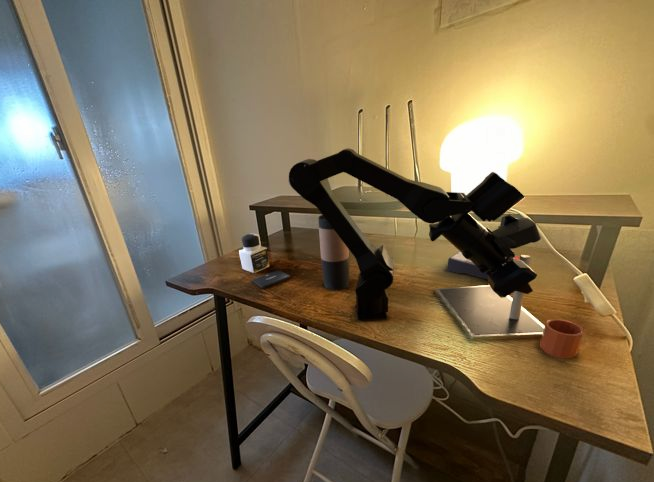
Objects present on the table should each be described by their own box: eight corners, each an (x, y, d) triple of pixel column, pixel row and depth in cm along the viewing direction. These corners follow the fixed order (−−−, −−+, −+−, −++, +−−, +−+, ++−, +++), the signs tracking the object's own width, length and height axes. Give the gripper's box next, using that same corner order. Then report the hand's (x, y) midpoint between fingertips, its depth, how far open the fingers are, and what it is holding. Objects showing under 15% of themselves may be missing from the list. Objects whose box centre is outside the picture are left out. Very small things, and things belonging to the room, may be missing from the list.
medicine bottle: (254, 273, 102) (247, 240, 97) (242, 269, 107) (235, 236, 102) (270, 266, 106) (264, 233, 101) (257, 262, 111) (252, 230, 106)
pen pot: (551, 360, 51) (559, 336, 49) (532, 342, 56) (539, 319, 54) (583, 359, 51) (592, 335, 49) (562, 341, 55) (569, 318, 53)
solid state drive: (252, 281, 96) (252, 279, 96) (278, 271, 100) (278, 269, 100) (262, 288, 91) (262, 286, 90) (290, 277, 95) (290, 275, 94)
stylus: (514, 320, 60) (525, 257, 56) (507, 316, 62) (517, 255, 57) (521, 318, 60) (533, 256, 56) (514, 315, 62) (525, 254, 58)
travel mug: (333, 276, 92) (329, 211, 83) (355, 282, 87) (353, 213, 78) (317, 286, 87) (311, 218, 79) (339, 293, 82) (336, 221, 74)
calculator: (511, 272, 72) (448, 256, 84) (506, 287, 74) (445, 270, 86) (528, 258, 78) (467, 244, 89) (524, 272, 80) (464, 257, 91)
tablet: (471, 341, 58) (471, 336, 58) (434, 292, 76) (435, 288, 76) (552, 338, 56) (554, 333, 56) (495, 288, 74) (496, 284, 73)
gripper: (533, 220, 45) (605, 286, 46) (494, 195, 61) (548, 244, 62) (467, 268, 51) (532, 326, 52) (447, 234, 67) (497, 278, 68)
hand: (527, 289), depth 59 cm, fingers closed on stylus, 2 cm apart
